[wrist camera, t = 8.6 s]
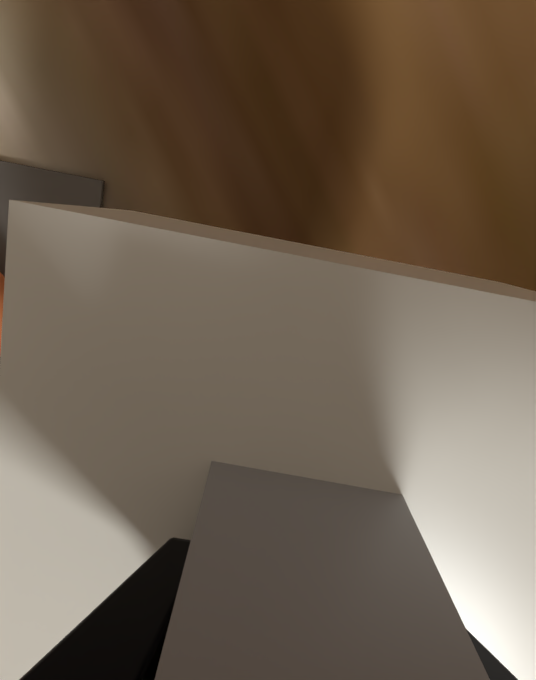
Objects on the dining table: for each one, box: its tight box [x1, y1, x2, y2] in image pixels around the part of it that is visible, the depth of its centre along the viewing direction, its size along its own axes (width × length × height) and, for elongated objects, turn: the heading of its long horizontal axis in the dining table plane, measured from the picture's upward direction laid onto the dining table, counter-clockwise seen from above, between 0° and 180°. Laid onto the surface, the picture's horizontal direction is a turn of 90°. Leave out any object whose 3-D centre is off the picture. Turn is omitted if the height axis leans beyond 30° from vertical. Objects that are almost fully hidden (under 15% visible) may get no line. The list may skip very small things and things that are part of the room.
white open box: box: [0, 200, 536, 680], centre depth 9 cm, size 10×10×10 cm
